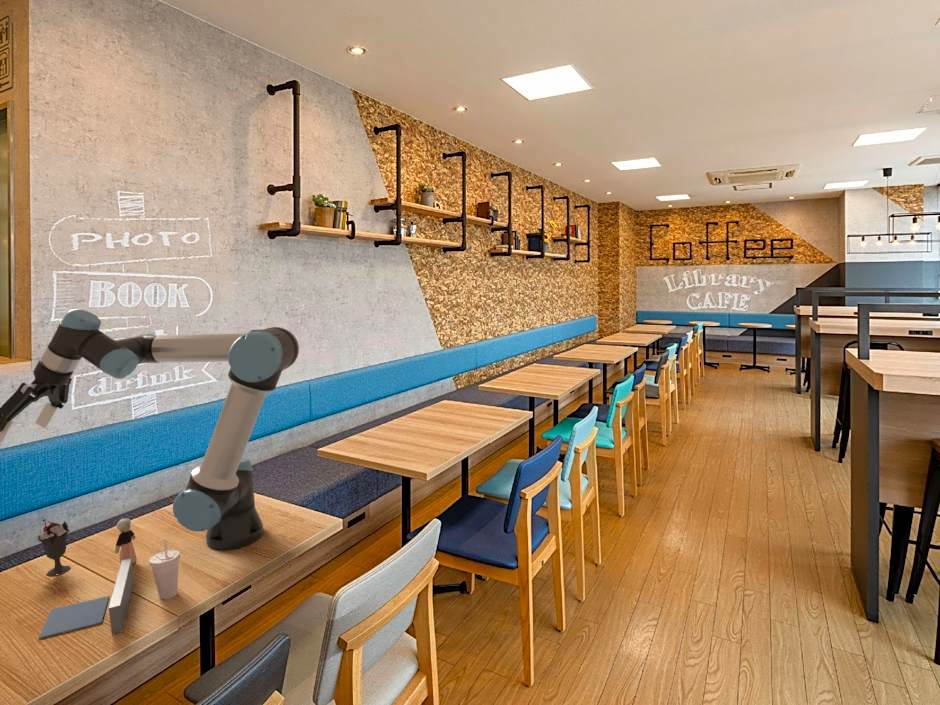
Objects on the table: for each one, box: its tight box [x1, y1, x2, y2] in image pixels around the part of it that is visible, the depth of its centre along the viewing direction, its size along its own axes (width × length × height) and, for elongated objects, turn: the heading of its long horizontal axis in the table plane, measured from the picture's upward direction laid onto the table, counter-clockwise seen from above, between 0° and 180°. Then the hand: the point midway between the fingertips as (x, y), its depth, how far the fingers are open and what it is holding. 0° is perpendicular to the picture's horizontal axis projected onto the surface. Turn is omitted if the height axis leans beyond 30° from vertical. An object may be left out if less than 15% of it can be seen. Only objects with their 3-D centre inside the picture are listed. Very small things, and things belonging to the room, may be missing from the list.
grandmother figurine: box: [114, 518, 138, 569], centre depth 142 cm, size 8×4×13 cm, turn 12°
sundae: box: [36, 518, 71, 576], centre depth 140 cm, size 7×7×15 cm
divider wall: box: [108, 559, 135, 635], centre depth 124 cm, size 2×22×6 cm, turn 26°
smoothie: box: [148, 538, 181, 600], centre depth 128 cm, size 6×6×14 cm
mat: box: [38, 595, 110, 640], centre depth 121 cm, size 11×11×1 cm
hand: (19, 432), depth 141 cm, fingers open, 13 cm apart
